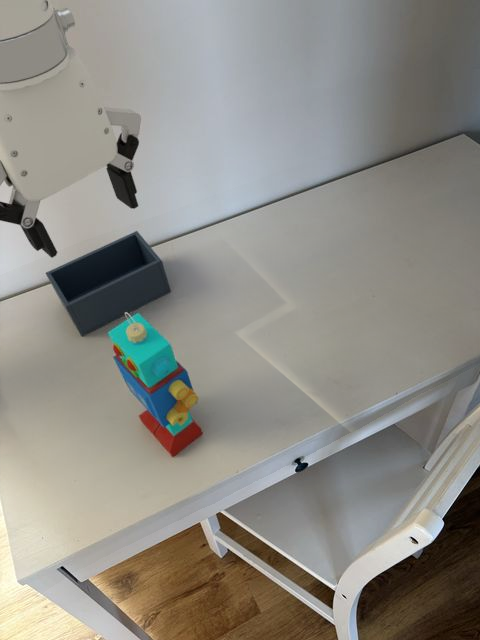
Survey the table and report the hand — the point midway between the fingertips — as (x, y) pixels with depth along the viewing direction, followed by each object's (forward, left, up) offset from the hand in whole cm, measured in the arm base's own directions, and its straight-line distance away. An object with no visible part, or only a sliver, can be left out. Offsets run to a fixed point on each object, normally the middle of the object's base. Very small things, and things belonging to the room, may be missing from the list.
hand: (89, 225), depth 54 cm
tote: (+3, +26, -35) cm, 44 cm away
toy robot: (-1, -4, -35) cm, 35 cm away
